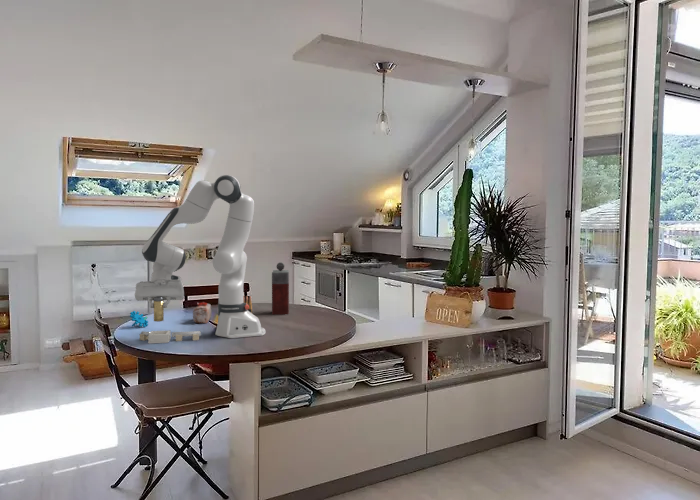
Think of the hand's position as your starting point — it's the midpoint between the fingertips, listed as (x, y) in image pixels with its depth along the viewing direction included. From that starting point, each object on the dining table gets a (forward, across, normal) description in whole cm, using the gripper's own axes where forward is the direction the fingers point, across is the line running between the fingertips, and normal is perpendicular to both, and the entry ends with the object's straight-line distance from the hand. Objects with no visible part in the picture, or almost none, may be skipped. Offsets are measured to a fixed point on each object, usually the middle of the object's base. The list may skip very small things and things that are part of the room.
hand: (158, 307), depth 227 cm
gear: (-12, -13, +34) cm, 38 cm away
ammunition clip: (-20, +36, +41) cm, 58 cm away
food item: (-17, +16, +39) cm, 45 cm away
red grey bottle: (-29, +56, +49) cm, 80 cm away
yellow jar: (+4, 0, +5) cm, 6 cm away
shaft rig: (+10, +7, +11) cm, 16 cm away
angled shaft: (+8, -6, +13) cm, 16 cm away
